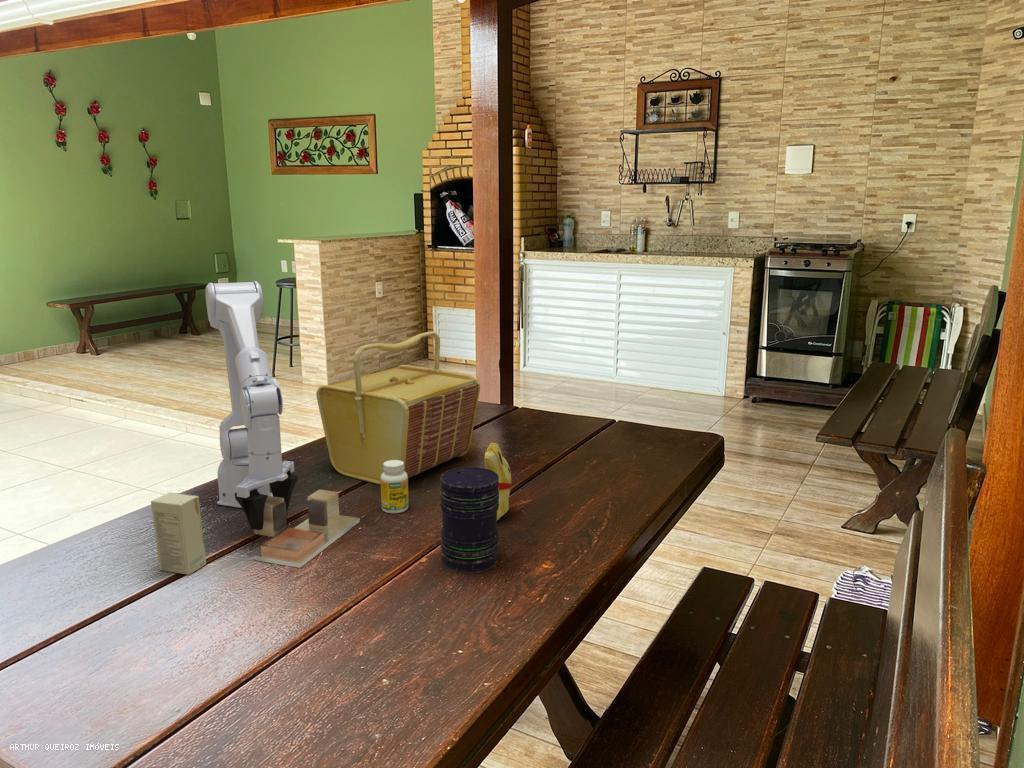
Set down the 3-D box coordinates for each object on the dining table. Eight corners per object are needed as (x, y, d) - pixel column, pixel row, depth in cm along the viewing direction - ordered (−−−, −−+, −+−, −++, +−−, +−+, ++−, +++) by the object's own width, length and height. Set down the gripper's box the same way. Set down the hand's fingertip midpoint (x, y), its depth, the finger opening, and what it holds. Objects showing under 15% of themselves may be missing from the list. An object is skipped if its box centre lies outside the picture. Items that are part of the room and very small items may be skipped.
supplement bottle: (401, 501, 154) (400, 456, 152) (413, 510, 150) (412, 464, 148) (376, 507, 151) (375, 461, 149) (388, 516, 147) (386, 469, 145)
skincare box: (207, 564, 126) (201, 495, 124) (188, 576, 122) (182, 505, 120) (176, 558, 128) (169, 490, 126) (157, 569, 124) (149, 500, 122)
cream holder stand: (253, 559, 128) (251, 522, 127) (318, 515, 147) (316, 482, 145) (300, 567, 126) (297, 529, 124) (359, 521, 144) (358, 488, 143)
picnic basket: (405, 496, 157) (401, 354, 150) (315, 473, 170) (308, 341, 163) (483, 458, 181) (483, 334, 174) (400, 440, 194) (397, 324, 188)
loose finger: (267, 525, 142) (265, 495, 141) (288, 528, 141) (286, 498, 140) (254, 533, 139) (251, 503, 137) (275, 537, 137) (273, 506, 136)
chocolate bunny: (518, 508, 151) (518, 436, 148) (493, 529, 141) (493, 452, 138) (487, 503, 154) (487, 432, 151) (461, 522, 144) (460, 447, 141)
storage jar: (511, 560, 129) (511, 477, 126) (467, 579, 122) (467, 492, 119) (472, 542, 136) (472, 462, 133) (429, 558, 129) (427, 476, 126)
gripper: (258, 465, 128) (264, 539, 131) (306, 441, 142) (310, 509, 145) (223, 460, 130) (229, 534, 133) (274, 437, 144) (278, 504, 147)
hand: (269, 520), depth 139 cm, fingers open, 7 cm apart
